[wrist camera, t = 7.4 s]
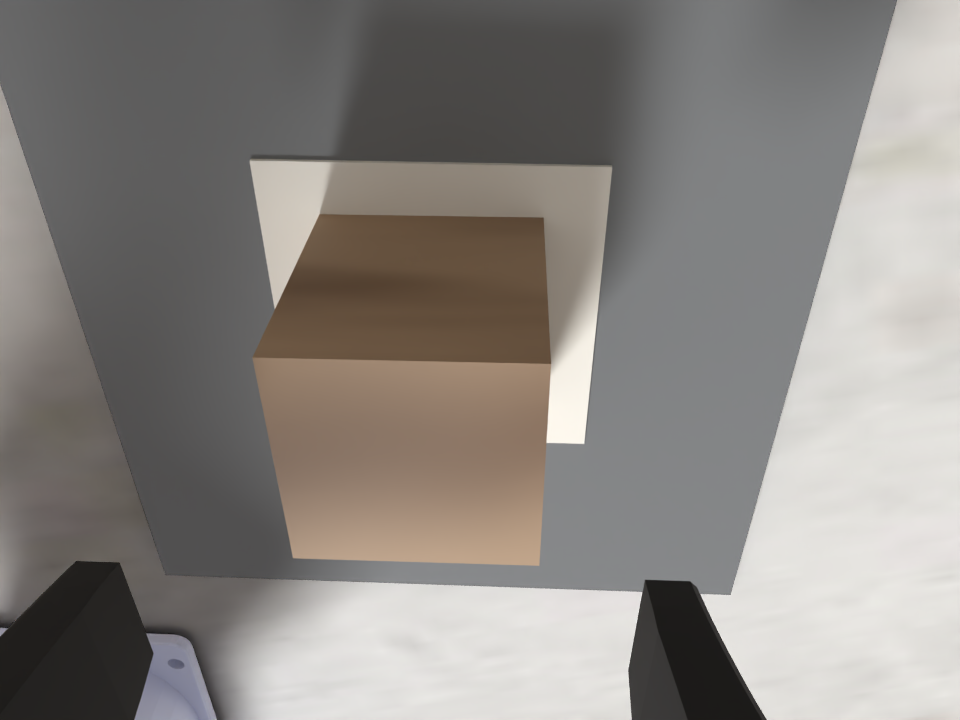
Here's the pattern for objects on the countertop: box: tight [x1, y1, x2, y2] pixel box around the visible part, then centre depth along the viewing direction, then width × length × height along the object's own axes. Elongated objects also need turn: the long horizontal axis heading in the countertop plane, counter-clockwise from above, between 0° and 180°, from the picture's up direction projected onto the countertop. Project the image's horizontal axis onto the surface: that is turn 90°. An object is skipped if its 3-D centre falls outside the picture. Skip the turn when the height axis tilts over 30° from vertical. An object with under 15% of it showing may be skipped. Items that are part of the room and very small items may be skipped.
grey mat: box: [0, 0, 897, 595], centre depth 18 cm, size 18×16×1 cm
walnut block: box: [252, 214, 551, 566], centre depth 16 cm, size 4×4×5 cm
